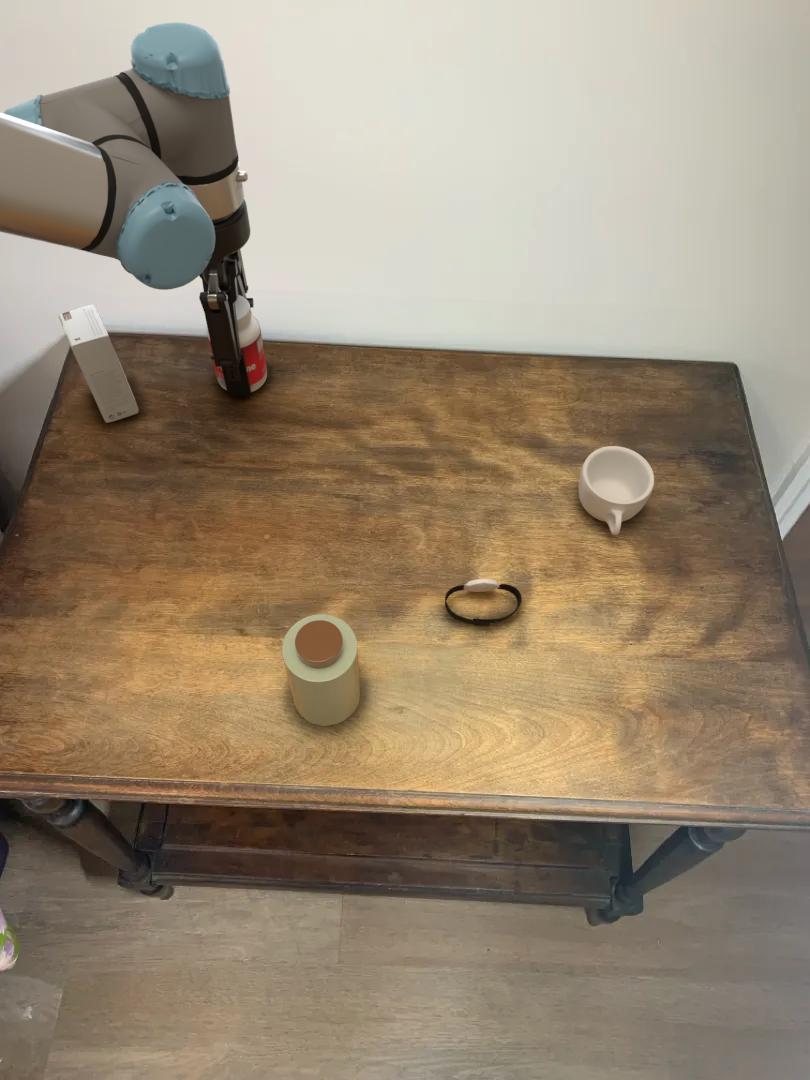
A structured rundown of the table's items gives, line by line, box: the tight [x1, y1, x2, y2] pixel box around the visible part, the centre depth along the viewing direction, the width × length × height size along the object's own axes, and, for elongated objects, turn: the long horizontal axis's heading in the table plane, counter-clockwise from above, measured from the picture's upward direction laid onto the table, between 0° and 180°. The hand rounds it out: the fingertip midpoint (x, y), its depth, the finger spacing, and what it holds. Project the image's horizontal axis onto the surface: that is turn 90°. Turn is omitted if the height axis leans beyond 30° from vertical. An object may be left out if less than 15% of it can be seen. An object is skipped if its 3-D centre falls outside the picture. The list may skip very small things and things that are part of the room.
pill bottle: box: [206, 295, 268, 393], centre depth 96 cm, size 6×6×11 cm
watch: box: [444, 578, 523, 627], centre depth 81 cm, size 8×5×4 cm, turn 93°
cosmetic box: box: [58, 303, 140, 424], centre depth 93 cm, size 6×4×12 cm
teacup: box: [578, 445, 655, 536], centre depth 88 cm, size 10×8×5 cm
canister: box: [281, 613, 361, 727], centre depth 73 cm, size 6×6×11 cm
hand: (242, 372), depth 100 cm, fingers closed on pill bottle, 6 cm apart
